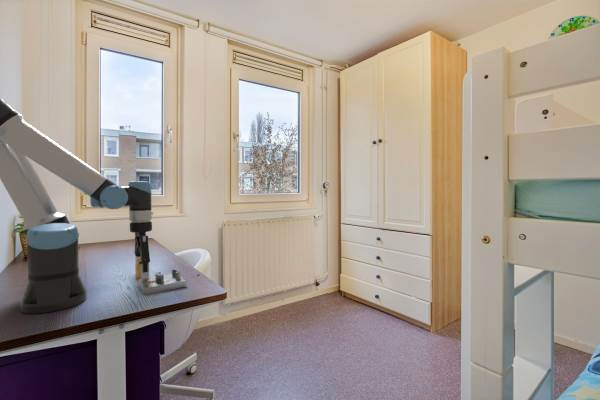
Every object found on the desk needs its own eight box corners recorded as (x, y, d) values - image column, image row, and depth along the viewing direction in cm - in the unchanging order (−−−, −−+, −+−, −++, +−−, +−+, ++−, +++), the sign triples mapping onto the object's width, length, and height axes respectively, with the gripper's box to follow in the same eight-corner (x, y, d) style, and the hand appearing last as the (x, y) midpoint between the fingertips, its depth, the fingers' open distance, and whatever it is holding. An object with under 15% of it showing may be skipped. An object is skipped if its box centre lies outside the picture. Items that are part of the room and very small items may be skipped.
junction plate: (144, 294, 95) (144, 280, 95) (138, 284, 104) (138, 272, 104) (186, 286, 102) (185, 273, 102) (177, 278, 112) (176, 266, 112)
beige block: (136, 279, 111) (136, 261, 110) (134, 276, 114) (134, 258, 114) (149, 277, 114) (148, 259, 113) (146, 274, 117) (146, 257, 116)
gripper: (158, 223, 106) (159, 282, 106) (146, 218, 125) (147, 268, 126) (134, 225, 101) (135, 286, 102) (125, 219, 121) (127, 271, 122)
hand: (142, 276), depth 114 cm, fingers open, 12 cm apart
